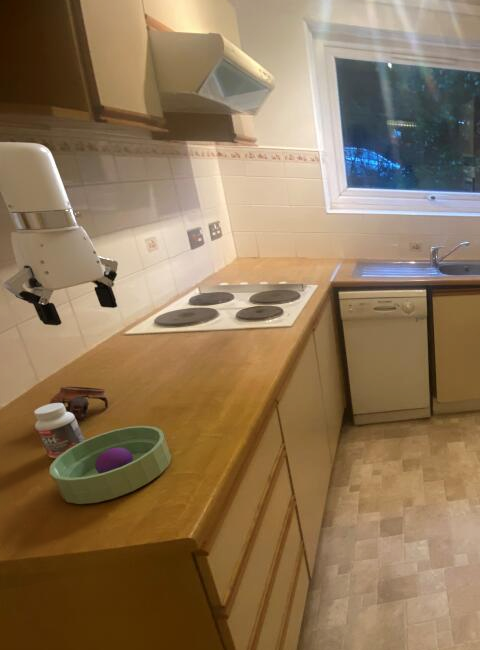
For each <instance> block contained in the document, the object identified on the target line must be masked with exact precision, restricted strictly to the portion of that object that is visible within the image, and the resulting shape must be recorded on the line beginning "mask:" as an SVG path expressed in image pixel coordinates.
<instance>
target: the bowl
mask: <svg viewBox="0 0 480 650" xmlns="http://www.w3.org/2000/svg"><path fill="white" fill-rule="evenodd" d="M112 448H123V449H126V450H128V451H129V452H130V453H131V454H132V457H133V462H130V463H128V464H126V465H124V466H122V467H119V468H117V469H114V470H111V471H108V472H105V473H101V474H99V473H98V472H97V470H96V468H95V462H96V460H97V458H98V456H99V455H100V454H101V453H103V452H104V451H106V450H109V449H112ZM172 458H173V457H172V454H171V451H170V449H169V446H168V443H167V440H166V437H165V435H164V432H163V430H162V429H160V428H159V427H156V426H151V425H150V426H149V425H134V426H128V427H127V426H126V427H121V428H117V429H113V430H110V431H106V432H103V433H99V434H97V435H95V436H92V437H90V438H87V439H85V441H82V442H80V443H79V444H77V445H75V446H73V447H71V448H70V449H68V450H66V451H65V452H64V453H62V454H61V455H60V456H58V457H57V458H54V461H53V462H52V463H51V464H50V466H49V475H50V477H51V479H52V481H53V484H54V486H55V487H56V489H57V492H58V493H59V495H60V497H61V499H62V500H64V501H65V502H67V503H69V504H70V503H71V504H74V505H75V504H77V505H85V504H96V503H100V502H105V501H108V500H113V499H116V498H119V497H122V496H124V495H126V494H129V493H132V492H134V491H136V490H137V489H139V488H141V487H143V486H145V485H148V484H149V483H151V482H152V481H153V480H154V479H156V478H157V477H159V476H160V475H162V474H163V472H164V471H165V470H166V469H167V468H168V467H169V466H170V463H171V461H172Z"/></svg>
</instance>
